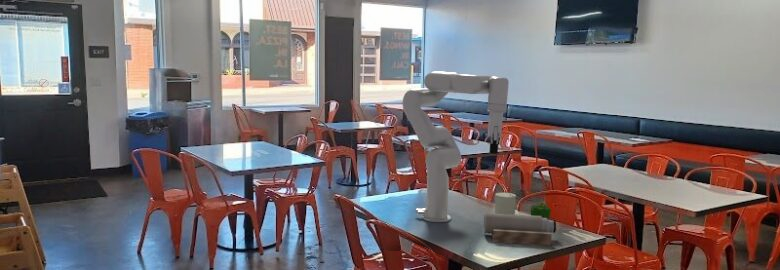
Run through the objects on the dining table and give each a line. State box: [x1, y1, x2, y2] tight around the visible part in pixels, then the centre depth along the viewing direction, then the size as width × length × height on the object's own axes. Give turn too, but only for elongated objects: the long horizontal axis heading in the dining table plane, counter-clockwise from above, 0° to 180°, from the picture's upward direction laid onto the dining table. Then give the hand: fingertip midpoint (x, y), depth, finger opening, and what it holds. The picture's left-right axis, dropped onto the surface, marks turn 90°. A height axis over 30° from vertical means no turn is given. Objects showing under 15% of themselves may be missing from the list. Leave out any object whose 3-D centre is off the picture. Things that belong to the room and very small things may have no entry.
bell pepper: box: [530, 201, 552, 220], centre depth 259 cm, size 8×8×10 cm
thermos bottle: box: [483, 212, 557, 235], centre depth 238 cm, size 8×8×28 cm
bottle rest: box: [490, 229, 552, 246], centre depth 237 cm, size 22×15×4 cm
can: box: [494, 192, 517, 215], centre depth 264 cm, size 9×9×12 cm
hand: (493, 153), depth 239 cm, fingers closed
